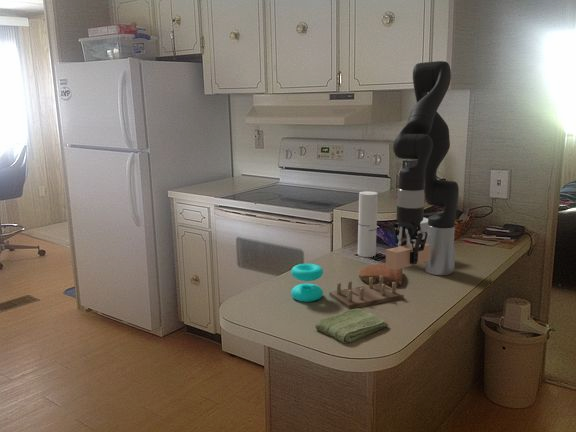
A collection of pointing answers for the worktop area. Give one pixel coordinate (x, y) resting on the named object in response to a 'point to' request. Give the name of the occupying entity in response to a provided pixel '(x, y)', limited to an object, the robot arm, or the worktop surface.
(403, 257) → the pinkish tan rectangular block
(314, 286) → the donuts
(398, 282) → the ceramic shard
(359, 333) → the washcloth
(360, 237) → the cylindrical container
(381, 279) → the drying rack
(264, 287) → the worktop surface
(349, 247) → the worktop surface
